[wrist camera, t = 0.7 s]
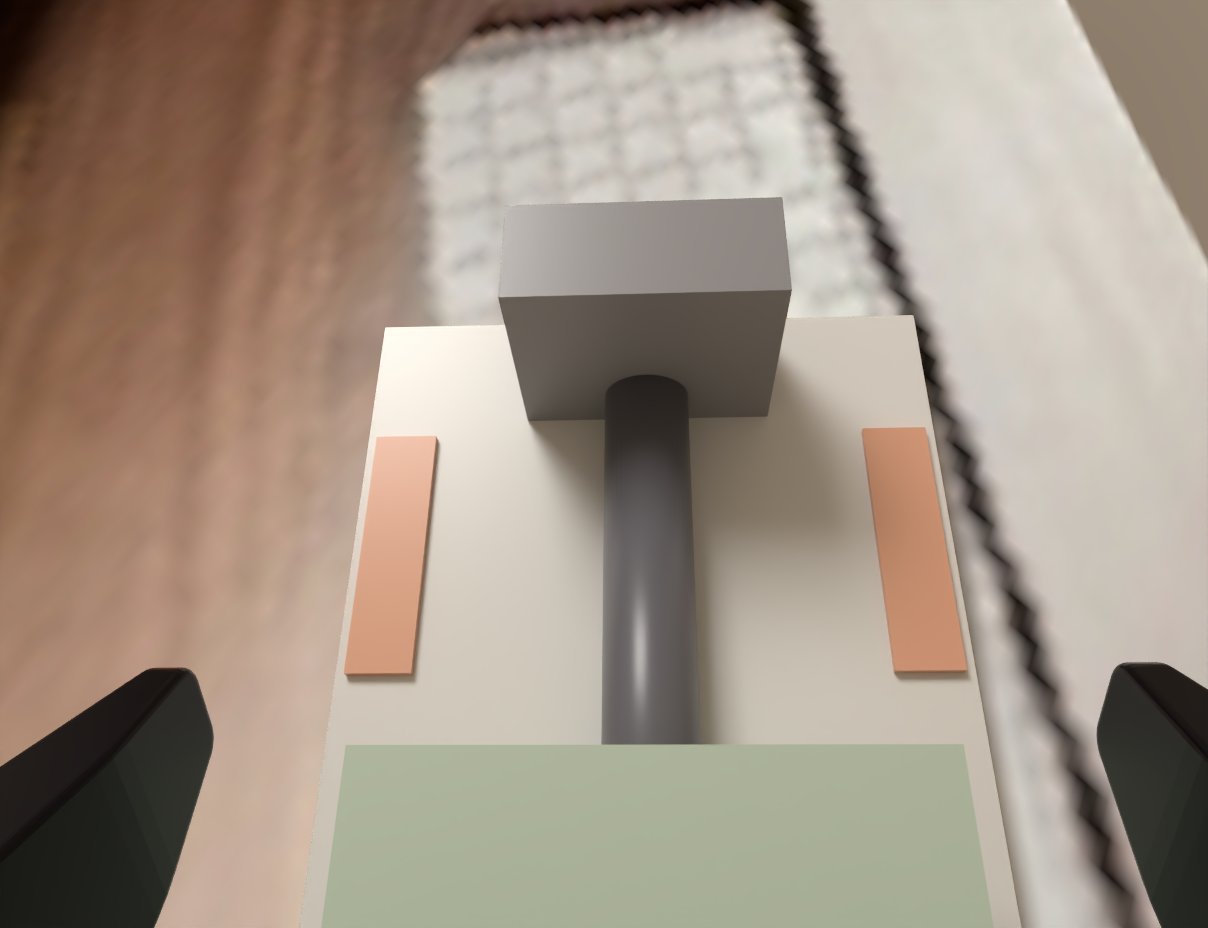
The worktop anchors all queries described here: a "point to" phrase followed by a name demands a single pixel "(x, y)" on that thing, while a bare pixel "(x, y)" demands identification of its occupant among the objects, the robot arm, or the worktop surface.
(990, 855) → the board
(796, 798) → the green block
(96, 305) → the worktop surface
